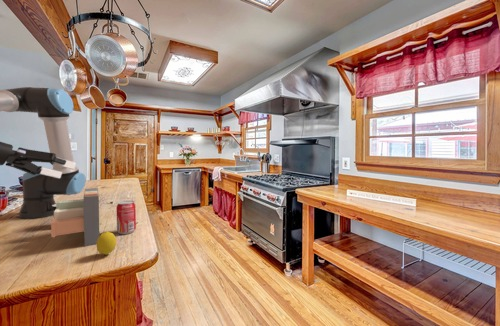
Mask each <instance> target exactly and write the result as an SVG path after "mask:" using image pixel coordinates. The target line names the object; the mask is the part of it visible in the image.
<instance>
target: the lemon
mask: <svg viewBox="0 0 500 326" xmlns="http://www.w3.org/2000/svg"><path fill="white" fill-rule="evenodd" d="M116 245H117V238H116V236H115V234H114V233H112V232H110V231H108V230H107V231H104V232H102V233H101V234H99V237H98V240H97V244H96V250H97V252H99V254H102V255H105V256H108V255H109V254H110V253H111V252H113V251H114V250H115V249H116Z"/></svg>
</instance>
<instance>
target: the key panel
mask: <svg viewBox="0 0 500 326" xmlns="http://www.w3.org/2000/svg"><path fill="white" fill-rule="evenodd" d="M99 195H100V194H99V188H98V187H95V188H94V187H93V188H85V189H84V193H83V199H84V231H83V232H84V233H83V234H84V247H89V246H93V245H94V246H95V245H97V240H98V237H99V236H100V204H99V203H100V202H99V200H100V199H99Z"/></svg>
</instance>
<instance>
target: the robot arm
mask: <svg viewBox="0 0 500 326" xmlns="http://www.w3.org/2000/svg"><path fill="white" fill-rule="evenodd" d="M73 111H74V102H73V99H72V97H71V95H70V94H68V92H67V91H66V90H64V89H60V88H55V87H54V88H53V87H28V86H27V87H26V86H24V87H15V88H14V87H13V88H8V89H7V88H6V89H0V112H6V113H13V112H14V113H15V112H21V113H23V112H24V113H34V114H35V113H36V114H37V117H38V119H40V120H42V122H43V124H44V130H45V136H46V140H47V144H48V145H47V146H48V149H49V152H47V151H40V150H35V149H28V148H24V147H20V146H19V147H18V148H17V150H14V149H13V148H14V146H13V145H12V144H10V143H6V142H2V141H0V166H3V165H4V164H5V166H7V167H11V168H14V169H16V170H20V171H22V172H24V173H23V174H22V181H21V183H22V184H21V185H22V197H23V198H22V204H21V207H20V209H19V212H18V218H19V219H24V220H25V219H38V218H45V217H49V216H54V213H53V207H52V205H54V204H56V203H57V202H56V200H55V198H54V196H57V195H58V196H59V195H60V196H62V195H63V196H72V195H78V194H80V193H82V191H83V189H84V188H85V186H86V176H85V174H84V172H80V170H79V167H77V166H76V165H77V162H76V161H75V162H74V157H73V151H72V145H71V140H70V139H71V138H70V134H69V128H68V124H67V120H68V119H70V114H72V113H73ZM33 162H34V163H33ZM35 163H46V164H47V163H49V164H51V165H52V169H50V168H46V167H43V166H40V165H36V164H35Z"/></svg>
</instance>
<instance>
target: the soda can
mask: <svg viewBox="0 0 500 326" xmlns="http://www.w3.org/2000/svg"><path fill="white" fill-rule="evenodd" d="M115 211H116V232H117V233H118V234H119V235H129V234H133V233H134V232H135V231H136V230H137V219H136V218H137V217H136V214H137V213H136V211H137V210H136V204H135V201H134V200H122V201H118V202H117V205H116V210H115Z"/></svg>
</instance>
